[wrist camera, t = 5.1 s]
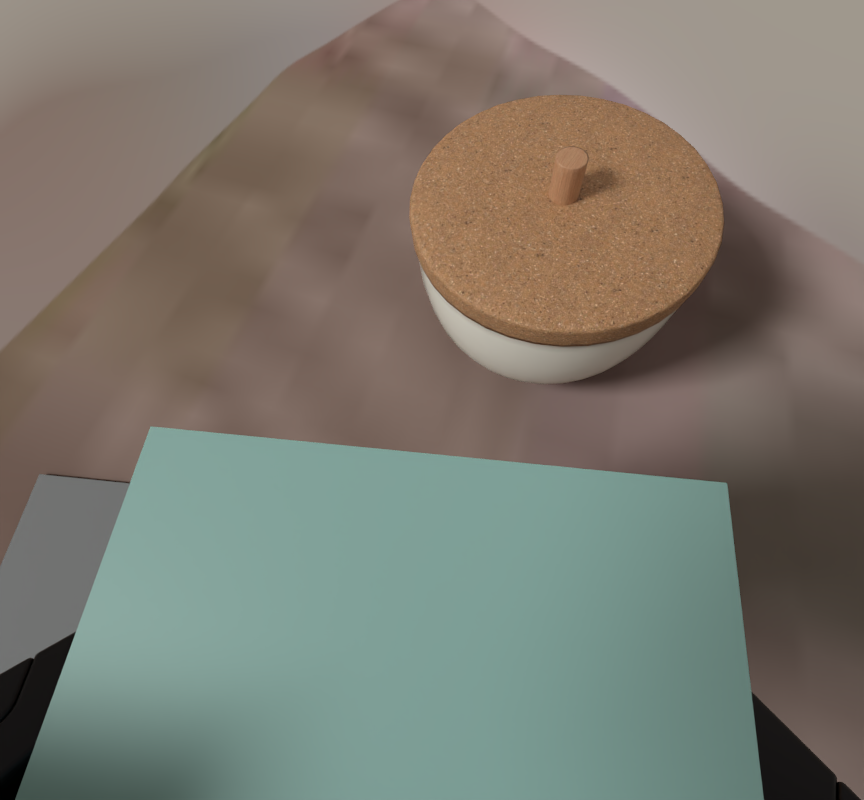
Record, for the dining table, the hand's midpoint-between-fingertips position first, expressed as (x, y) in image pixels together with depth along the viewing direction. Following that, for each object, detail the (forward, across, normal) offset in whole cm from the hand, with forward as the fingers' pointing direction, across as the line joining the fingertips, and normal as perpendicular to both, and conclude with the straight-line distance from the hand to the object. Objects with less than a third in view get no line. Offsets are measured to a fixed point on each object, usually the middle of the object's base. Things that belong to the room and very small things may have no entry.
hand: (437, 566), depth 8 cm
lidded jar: (+18, -3, 0) cm, 18 cm away
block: (+4, 0, +6) cm, 7 cm away
